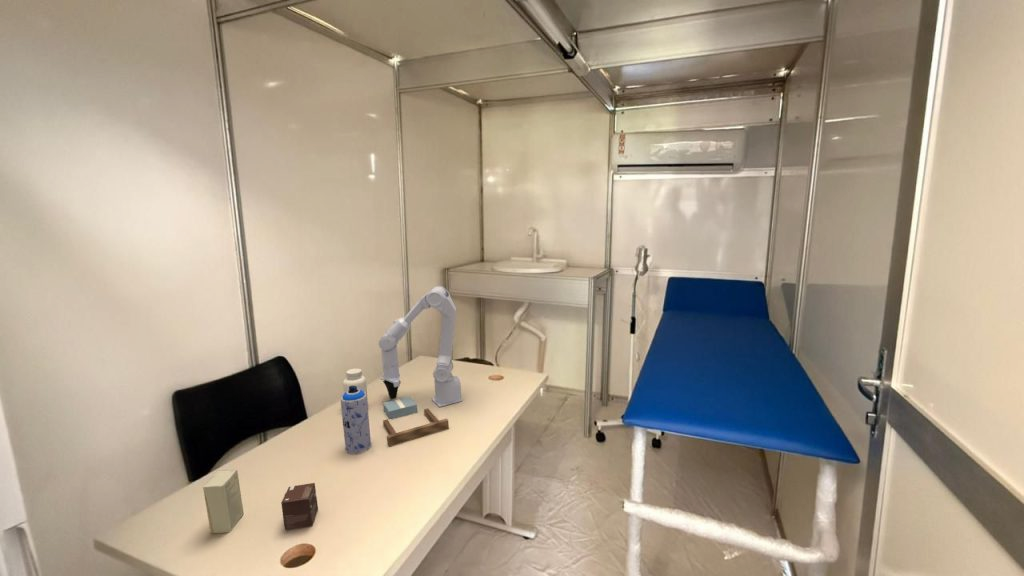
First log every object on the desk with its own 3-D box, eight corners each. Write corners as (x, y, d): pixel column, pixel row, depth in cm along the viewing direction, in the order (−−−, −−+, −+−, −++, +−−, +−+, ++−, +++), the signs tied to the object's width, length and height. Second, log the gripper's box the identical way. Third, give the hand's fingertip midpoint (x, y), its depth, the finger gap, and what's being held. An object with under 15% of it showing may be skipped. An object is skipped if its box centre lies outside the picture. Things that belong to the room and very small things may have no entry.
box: (312, 526, 97) (309, 498, 95) (284, 531, 95) (280, 502, 94) (318, 508, 102) (315, 482, 101) (292, 513, 101) (288, 485, 100)
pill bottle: (372, 404, 158) (368, 367, 155) (362, 414, 150) (358, 375, 147) (351, 403, 159) (348, 366, 156) (341, 414, 151) (337, 374, 148)
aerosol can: (340, 447, 129) (334, 387, 125) (364, 437, 135) (358, 379, 131) (352, 457, 124) (346, 394, 120) (376, 446, 129) (371, 386, 126)
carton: (410, 405, 158) (410, 396, 157) (417, 413, 151) (416, 404, 150) (383, 411, 153) (383, 402, 152) (389, 420, 146) (388, 411, 145)
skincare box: (225, 515, 101) (218, 469, 99) (245, 513, 101) (238, 468, 99) (209, 534, 95) (201, 486, 93) (230, 533, 95) (222, 485, 93)
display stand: (433, 411, 151) (433, 404, 150) (448, 428, 139) (448, 420, 139) (377, 427, 141) (376, 419, 140) (388, 446, 129) (388, 437, 128)
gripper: (374, 360, 161) (377, 393, 163) (384, 372, 149) (387, 408, 151) (393, 357, 164) (395, 389, 167) (404, 368, 152) (406, 403, 155)
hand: (393, 398), depth 159 cm, fingers closed
